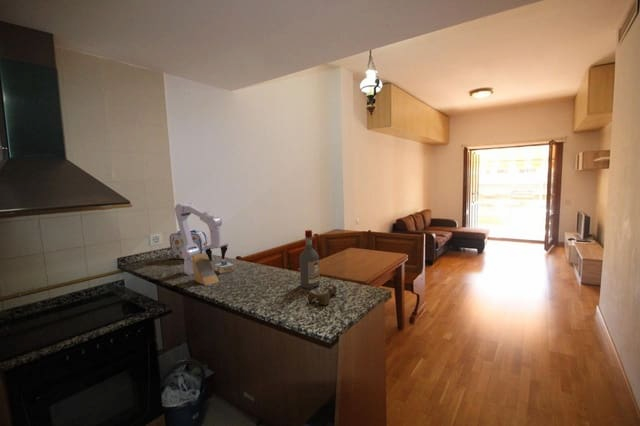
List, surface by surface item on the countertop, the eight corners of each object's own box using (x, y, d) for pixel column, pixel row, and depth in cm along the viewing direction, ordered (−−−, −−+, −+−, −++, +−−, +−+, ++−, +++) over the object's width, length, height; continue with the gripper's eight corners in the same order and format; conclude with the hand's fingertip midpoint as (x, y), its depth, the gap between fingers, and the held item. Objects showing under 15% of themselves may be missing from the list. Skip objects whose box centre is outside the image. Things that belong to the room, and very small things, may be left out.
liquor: (298, 286, 167) (296, 231, 163) (308, 281, 174) (307, 228, 170) (311, 289, 161) (309, 232, 158) (321, 284, 168) (320, 230, 165)
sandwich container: (205, 285, 171) (203, 259, 169) (193, 280, 182) (191, 255, 180) (219, 281, 177) (218, 256, 175) (207, 276, 188) (205, 252, 186)
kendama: (341, 296, 153) (320, 310, 136) (324, 293, 158) (302, 306, 141) (341, 284, 152) (320, 297, 135) (324, 281, 157) (302, 293, 140)
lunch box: (211, 257, 234) (209, 228, 232) (203, 260, 224) (201, 230, 222) (178, 256, 239) (175, 228, 236) (169, 260, 229) (167, 230, 226)
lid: (215, 265, 199) (214, 260, 198) (226, 263, 204) (226, 258, 204) (221, 268, 191) (221, 263, 191) (233, 266, 197) (233, 261, 196)
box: (215, 270, 199) (215, 265, 199) (227, 267, 204) (226, 263, 204) (222, 273, 192) (221, 268, 191) (234, 271, 197) (233, 266, 197)
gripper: (206, 240, 177) (207, 263, 178) (229, 236, 186) (231, 258, 188) (201, 238, 182) (203, 261, 183) (224, 235, 191) (226, 256, 193)
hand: (216, 260), depth 186 cm, fingers open, 7 cm apart
